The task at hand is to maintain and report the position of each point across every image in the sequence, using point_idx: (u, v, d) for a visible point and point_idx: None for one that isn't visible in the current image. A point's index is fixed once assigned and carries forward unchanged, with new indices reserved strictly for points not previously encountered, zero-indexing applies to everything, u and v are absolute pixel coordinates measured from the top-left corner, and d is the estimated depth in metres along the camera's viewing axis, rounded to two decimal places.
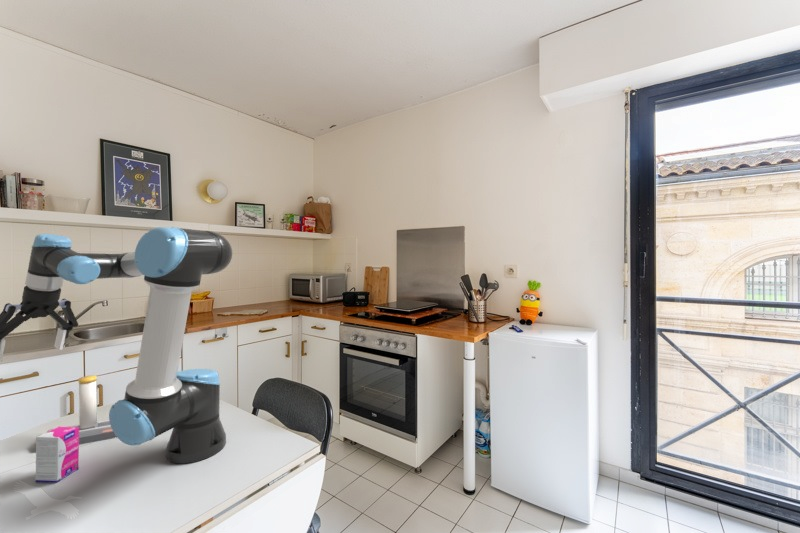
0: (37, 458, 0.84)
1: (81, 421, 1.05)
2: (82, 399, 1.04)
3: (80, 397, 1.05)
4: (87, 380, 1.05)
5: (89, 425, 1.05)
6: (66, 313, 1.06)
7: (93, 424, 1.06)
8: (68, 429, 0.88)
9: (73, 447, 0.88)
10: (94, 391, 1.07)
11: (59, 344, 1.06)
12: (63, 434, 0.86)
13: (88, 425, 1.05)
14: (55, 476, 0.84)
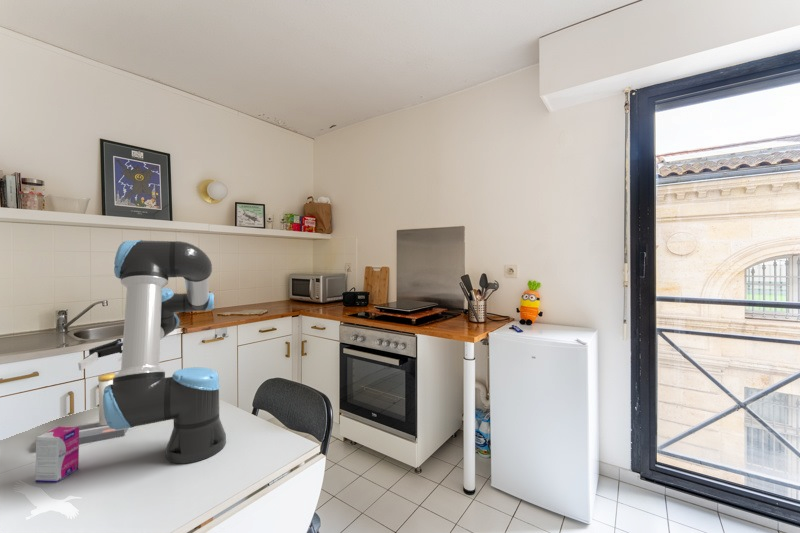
0: (37, 458, 0.84)
1: (101, 418, 1.07)
2: (102, 397, 1.07)
3: (100, 394, 1.07)
4: (107, 378, 1.07)
5: None
6: None
7: None
8: (68, 429, 0.88)
9: (73, 447, 0.88)
10: None
11: None
12: (63, 434, 0.86)
13: None
14: (55, 476, 0.84)
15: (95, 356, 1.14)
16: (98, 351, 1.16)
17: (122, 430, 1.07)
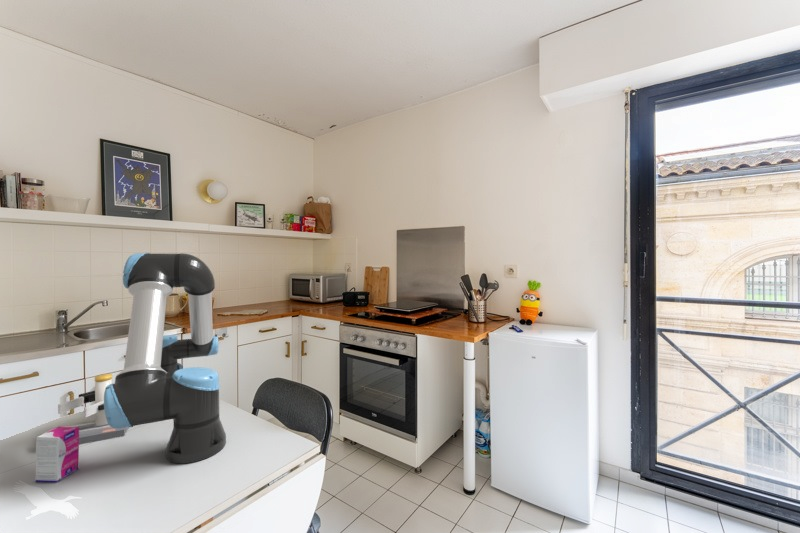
0: (37, 458, 0.84)
1: (97, 418, 1.06)
2: (98, 397, 1.06)
3: (96, 395, 1.06)
4: (103, 378, 1.07)
5: (105, 422, 1.07)
6: None
7: None
8: (68, 429, 0.88)
9: (73, 447, 0.88)
10: None
11: None
12: (63, 434, 0.86)
13: (104, 422, 1.07)
14: (55, 476, 0.84)
15: (80, 400, 1.09)
16: (86, 395, 1.11)
17: (122, 430, 1.07)
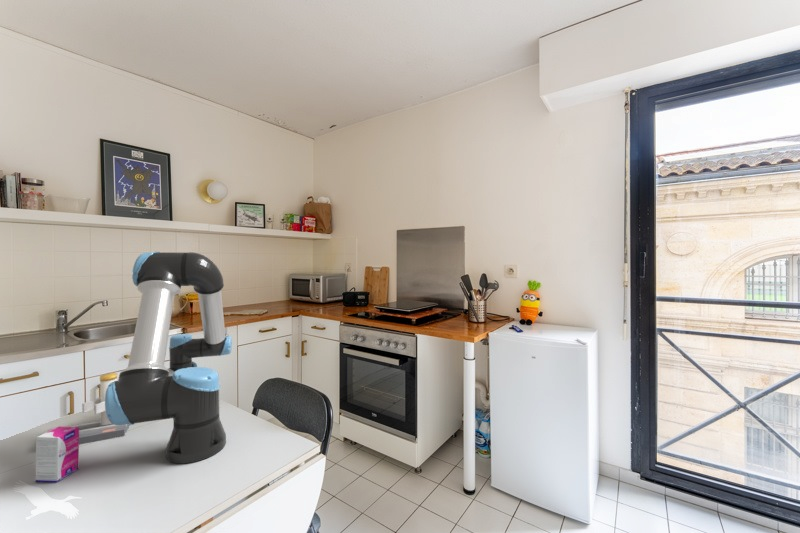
0: (37, 458, 0.84)
1: (102, 418, 1.07)
2: (104, 396, 1.07)
3: (101, 394, 1.07)
4: (108, 377, 1.07)
5: None
6: None
7: None
8: (68, 429, 0.88)
9: (73, 447, 0.88)
10: None
11: None
12: (63, 434, 0.86)
13: (109, 421, 1.08)
14: (55, 476, 0.84)
15: None
16: None
17: (122, 430, 1.07)
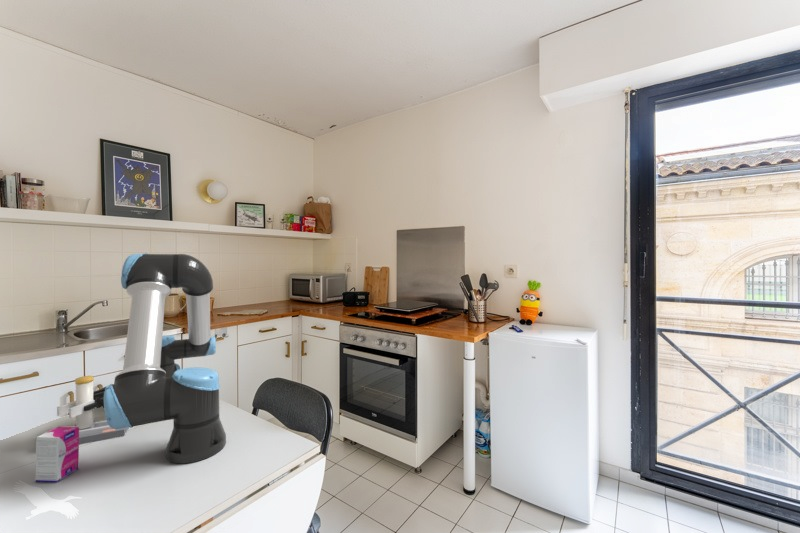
0: (37, 458, 0.84)
1: (78, 422, 1.04)
2: (79, 400, 1.04)
3: (77, 397, 1.04)
4: (84, 380, 1.04)
5: (86, 426, 1.05)
6: None
7: (90, 425, 1.06)
8: (68, 429, 0.88)
9: (73, 447, 0.88)
10: (91, 391, 1.06)
11: None
12: (63, 434, 0.86)
13: (85, 426, 1.05)
14: (55, 476, 0.84)
15: None
16: None
17: (122, 430, 1.07)
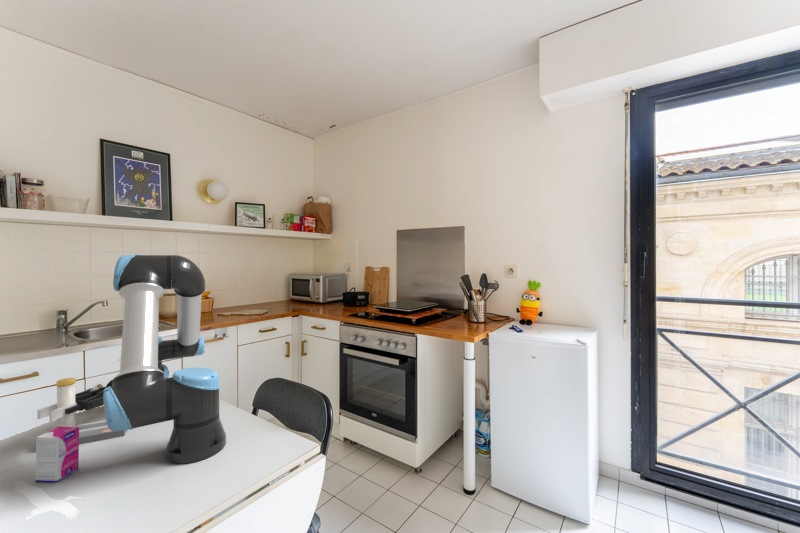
0: (37, 458, 0.84)
1: (59, 425, 1.02)
2: (60, 403, 1.02)
3: (58, 400, 1.02)
4: (65, 383, 1.02)
5: None
6: None
7: None
8: (68, 429, 0.88)
9: (73, 447, 0.88)
10: (73, 394, 1.04)
11: None
12: (63, 434, 0.86)
13: None
14: (55, 476, 0.84)
15: None
16: None
17: (122, 430, 1.07)
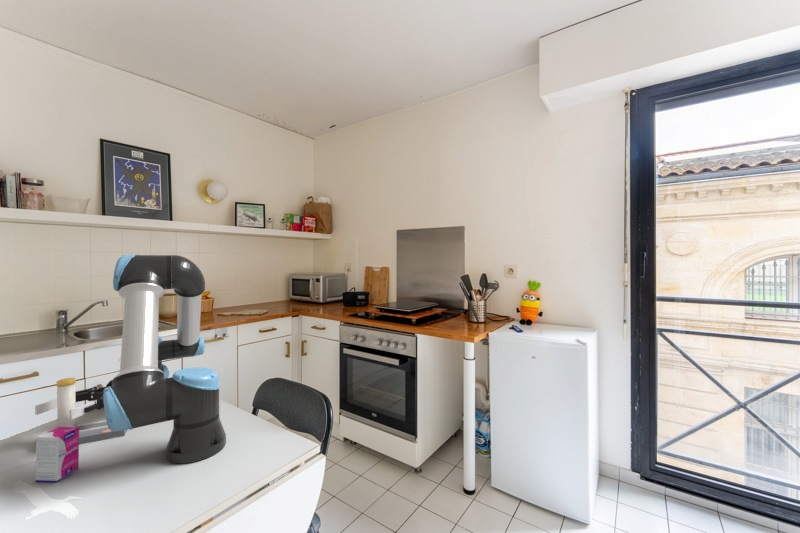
0: (37, 458, 0.84)
1: (59, 425, 1.02)
2: (60, 403, 1.02)
3: (58, 400, 1.02)
4: (65, 383, 1.02)
5: None
6: None
7: None
8: (68, 429, 0.88)
9: (73, 447, 0.88)
10: (73, 394, 1.04)
11: None
12: (63, 434, 0.86)
13: None
14: (55, 476, 0.84)
15: None
16: None
17: (122, 430, 1.07)
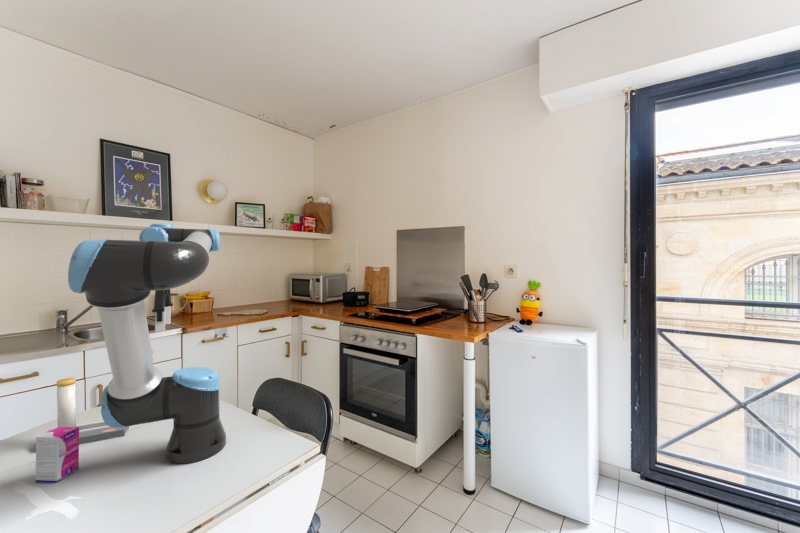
0: (37, 458, 0.84)
1: (59, 425, 1.02)
2: (60, 403, 1.02)
3: (58, 400, 1.02)
4: (65, 383, 1.02)
5: None
6: None
7: None
8: (68, 429, 0.88)
9: (73, 447, 0.88)
10: (73, 394, 1.04)
11: None
12: (63, 434, 0.86)
13: None
14: (55, 476, 0.84)
15: (164, 309, 1.26)
16: None
17: (122, 430, 1.07)
